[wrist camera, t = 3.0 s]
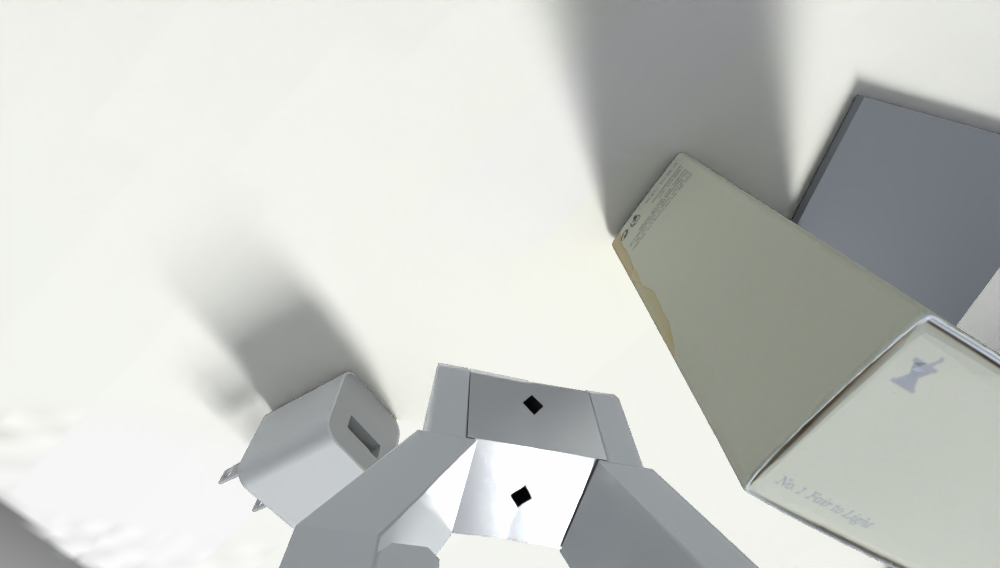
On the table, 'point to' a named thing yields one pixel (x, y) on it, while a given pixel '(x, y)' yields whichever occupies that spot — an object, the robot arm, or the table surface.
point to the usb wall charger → (315, 448)
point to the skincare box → (821, 375)
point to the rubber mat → (911, 203)
